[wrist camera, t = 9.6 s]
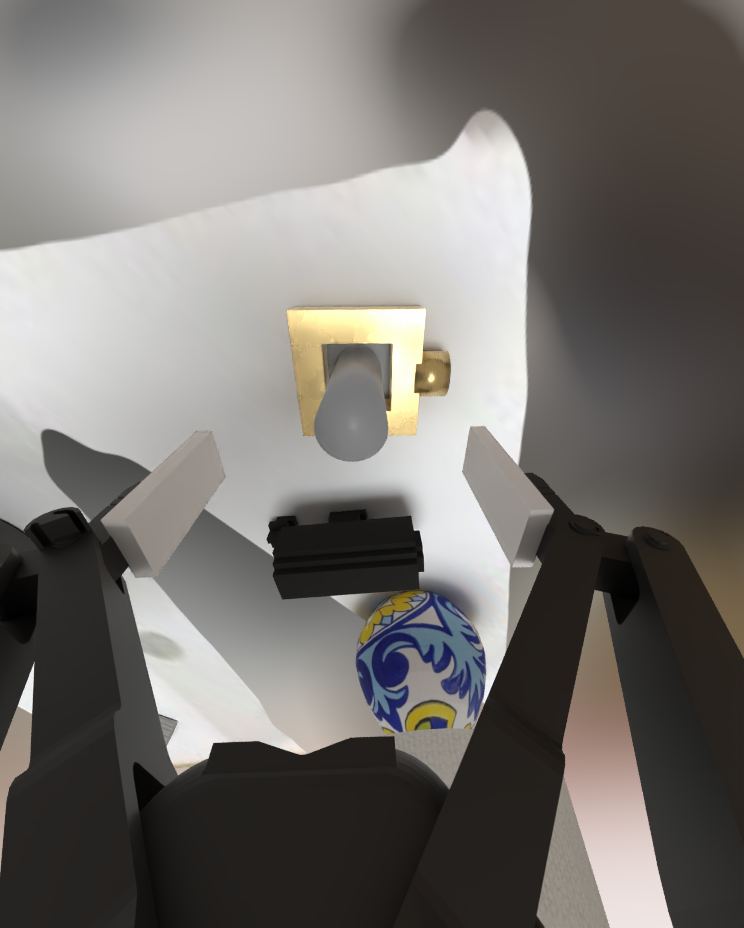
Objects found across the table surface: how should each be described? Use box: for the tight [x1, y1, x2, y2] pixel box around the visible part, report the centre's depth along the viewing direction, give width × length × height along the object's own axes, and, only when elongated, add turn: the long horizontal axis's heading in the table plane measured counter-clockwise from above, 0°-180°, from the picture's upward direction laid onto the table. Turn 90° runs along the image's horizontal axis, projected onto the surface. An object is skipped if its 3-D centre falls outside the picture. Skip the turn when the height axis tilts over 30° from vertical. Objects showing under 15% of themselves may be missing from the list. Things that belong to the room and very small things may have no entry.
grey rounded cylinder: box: [314, 346, 388, 462], centre depth 24 cm, size 4×4×14 cm
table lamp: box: [356, 591, 610, 928], centre depth 34 cm, size 27×27×40 cm
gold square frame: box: [286, 306, 451, 436], centre depth 28 cm, size 14×11×4 cm
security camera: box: [267, 509, 424, 599], centre depth 36 cm, size 7×18×10 cm, turn 96°
